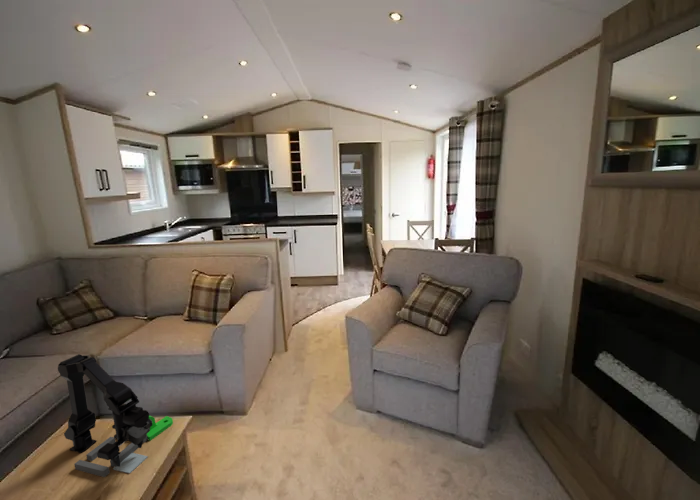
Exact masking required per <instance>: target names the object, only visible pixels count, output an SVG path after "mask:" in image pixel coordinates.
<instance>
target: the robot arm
mask: <svg viewBox="0 0 700 500" xmlns="http://www.w3.org/2000/svg"><path fill="white" fill-rule="evenodd" d="M57 371H58V374H59V375H60V377H61V378H63V379H65V380H66V383H67V389H68V395H69V402H70V407H71V414H70V416H69V419H68V421H67V428H66V430H65V431H64V432H63V435H64V438H65V439H66V440H68V441H69V440H70V441H72V446H71V447H69V451H72V452H74V453H75V452H76V453H79V454H80V453H83V452H85V451H86V450H87V449H89V448H90V447H92V445H94V444H96V442H97V440H96V439H93V437H92V433H91V430H92V429H94V428H96V421H97V417H96V413H95V412H93V411H92V410H90V409H89V407H88V401H87V394H86V388H85V380H84V375H85V376H86V377H87V378H88V380H89V381H91V382H92V383H93V384H94V385H95V387H97V388H98V389H99V390H100V392H102V394H103V395H102V396H103V397H102V398H103V401H104V403H105V404H106V406H107V409H108V411H111V414H112V419H113V425H112V426H111V428H112V429H114V430H115V434H114V435H113V437H114V438H115V440H116V442H115V443H114V444H110V443H107V444H106V445H104V446H103V447H102V448H100V449H99V450H98V451H97V456H98V457H97V458H98V459H103V460H107V461H110V460H111V461H112V462H113V463H114V464H115V465H116V466H118V467H120V459H119V454H120V453H121V451H120V446H122V445H124V443H125V442H127V441H129V442H130V443H133V444H135V445H138V449H142V447H143V444H144V443H143V440H144V439H145V438H146V436H147V433H148V432H149V431H150V427H151V426H152V420H151V419H149V416H150V413H149V411H148V410H145V409H143V407H141V406H137V405H138V404H139V403H140V400H139V399H138V398H139V397H138V396H137V395H136V394H135V392H134V391H133V390H132V389H131V388H130V387H129V386H127V384H125V383H124V382H122V381H121V382H119V381H117V380H115V379H114V378H112V376H110V374H109V373H107V371H105V369H103V367H101V365H100V364H98V363H97V359H96V358H95V357H94V356H93V357H92V356H90V354H88V355H82V354H76V355H74V356H71V357H69V358H66V359H65V360H62V361H60V362H59V364H58V366H57ZM128 401H129V402H128Z"/></svg>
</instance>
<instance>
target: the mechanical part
mask: <svg viewBox="0 0 700 500" xmlns="http://www.w3.org/2000/svg"><path fill="white" fill-rule="evenodd" d="M149 419H151V420H152V426H151V427H150V431H149V432H148V433H147V436H148V440H147V441H150V442H151V441H152V440H154V439H155V438H156V437H158V436H159V435H161V434H162V433H163V432H164V431H166V430H168V429H169V428H170V427H171V426H172V425H173V424H174V420H173V417H171V416H168V415H165V417H163V418H162V419H160V420H158V421H157V422H156V418H155V417H154V416H152V415H149Z"/></svg>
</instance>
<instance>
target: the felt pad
mask: <svg viewBox="0 0 700 500" xmlns="http://www.w3.org/2000/svg"><path fill="white" fill-rule="evenodd" d="M148 458H149V456H148V455H144V454H139V453H135V452H133V453H131V454H130V455H129V456H128V457H127V458H125V459H124V460H123V461H122V462H121V463H120V467H118V466H115V467H113V468H112V470H114V471H117V472H121V473H126V474H129V475H130V474H131V473H132V472H134V471H135V469H137V467H139V466H140V465H141V464H142V463H143V462H144V461H145V460H147V459H148Z"/></svg>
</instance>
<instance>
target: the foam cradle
mask: <svg viewBox="0 0 700 500" xmlns="http://www.w3.org/2000/svg"><path fill="white" fill-rule="evenodd" d="M116 441H117V439H116V438H114V436H109V437H108V438H107V439H105V440H104V441H103V442H102V443H99V445H97V446H96V447H95V448H93V449H92V450H90V451H89V452H87V453H86V460H81V459H78V460H77V461H76V462H75V463H73V464H74V465H73V466H74V469H75V470H77V471H80V472H84V473H87V474H91V475H93V476H97V477H102V478H106V477H107V476H108V475H109V474H110V473H111V471H110V467H113V468H114V467H115V466H116V465H115V464H114V463H113V462H112V461H111V460H109V462H110V466H106V465H102V464H97V463H94V462H93V461H94V460H95V459H97V458H98V456H97V451H98V450H99V449H100V448H102V447H103V446H104V445H106V444H107V443H110V444H114V443H115V442H116ZM148 441H149V440H148V436H146V438H145V439H144V440H143V443H142V444H145V443H146V442H148ZM138 449H139V448H138V445H135V444H133V443H132V442H130V444H128V445H127V446H126V447H124V448H123V449H122V450H121V451H120V452H121V453H120V454H119V459H120V463H121V462H122V461H123V460H124V459H125V458H127V457H128V456H129V455H130V454H131V453H135V452H136V451H137V450H138ZM89 461H90V462H89Z"/></svg>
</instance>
